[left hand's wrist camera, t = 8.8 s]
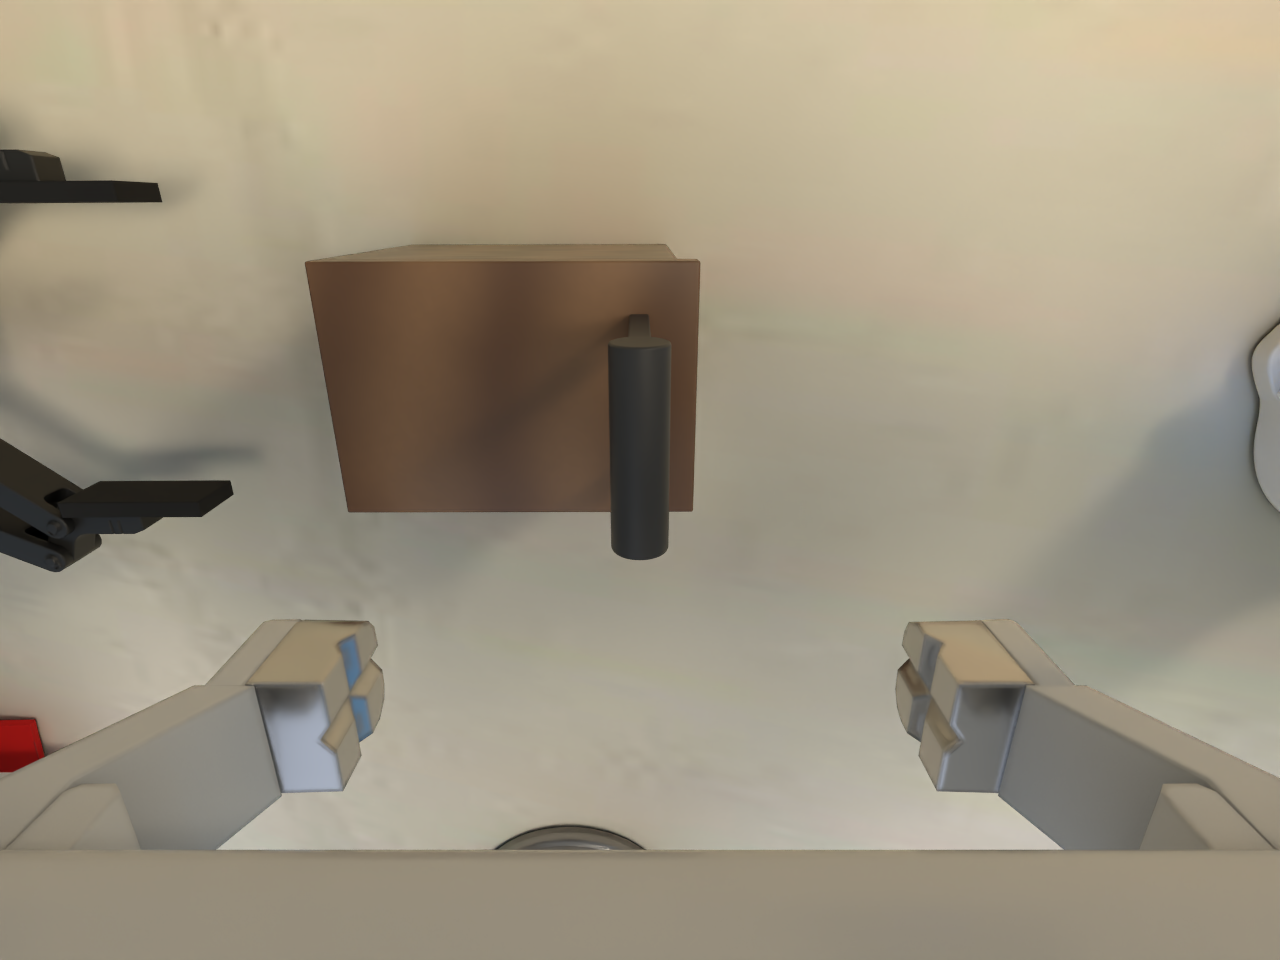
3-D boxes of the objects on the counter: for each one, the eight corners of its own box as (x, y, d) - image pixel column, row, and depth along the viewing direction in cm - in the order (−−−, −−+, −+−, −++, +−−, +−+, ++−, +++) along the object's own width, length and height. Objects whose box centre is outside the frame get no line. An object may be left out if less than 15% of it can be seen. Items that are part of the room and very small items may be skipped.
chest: (666, 244, 35) (678, 258, 25) (664, 423, 39) (673, 501, 28) (411, 244, 35) (317, 259, 25) (432, 424, 39) (358, 502, 28)
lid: (698, 258, 25) (724, 280, 17) (690, 502, 28) (710, 609, 21) (316, 259, 25) (174, 282, 17) (357, 502, 28) (254, 611, 21)
